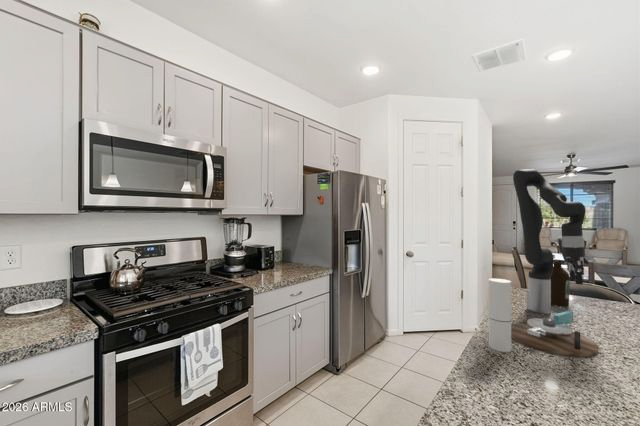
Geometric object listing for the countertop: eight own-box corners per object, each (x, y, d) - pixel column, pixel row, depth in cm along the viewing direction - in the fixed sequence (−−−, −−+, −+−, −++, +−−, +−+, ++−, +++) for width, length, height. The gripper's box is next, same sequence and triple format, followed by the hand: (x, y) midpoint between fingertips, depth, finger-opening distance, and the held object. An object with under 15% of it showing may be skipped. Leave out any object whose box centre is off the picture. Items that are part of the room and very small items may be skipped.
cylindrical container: (508, 344, 109) (507, 279, 109) (513, 353, 102) (513, 283, 102) (486, 341, 111) (486, 277, 111) (491, 350, 104) (491, 281, 105)
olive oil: (544, 304, 160) (544, 259, 161) (547, 300, 168) (547, 258, 168) (569, 308, 153) (569, 262, 153) (571, 304, 160) (571, 260, 160)
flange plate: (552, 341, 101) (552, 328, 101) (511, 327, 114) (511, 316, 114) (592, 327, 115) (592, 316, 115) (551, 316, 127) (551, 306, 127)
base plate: (575, 364, 95) (575, 341, 95) (492, 332, 120) (492, 315, 120) (612, 347, 107) (612, 327, 107) (530, 322, 132) (530, 306, 132)
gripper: (558, 245, 136) (561, 279, 135) (566, 247, 123) (569, 285, 122) (579, 244, 132) (582, 280, 131) (589, 247, 120) (593, 286, 119)
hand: (576, 282), depth 127 cm, fingers open, 8 cm apart
